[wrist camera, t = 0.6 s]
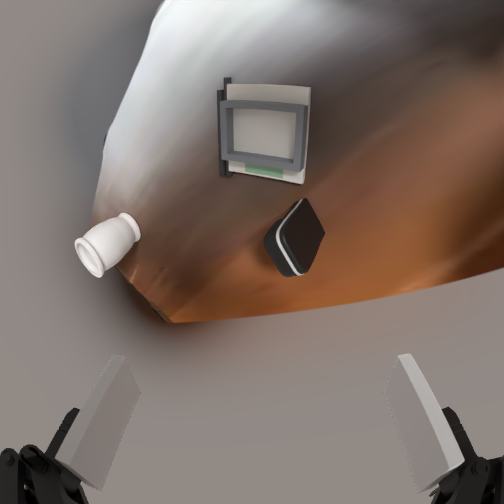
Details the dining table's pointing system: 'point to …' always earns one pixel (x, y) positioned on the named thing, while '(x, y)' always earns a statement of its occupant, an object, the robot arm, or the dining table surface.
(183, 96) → the dining table surface
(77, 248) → the jar
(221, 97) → the slim dark grey rod
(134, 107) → the dining table surface
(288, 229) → the black rounded block
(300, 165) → the panel board
